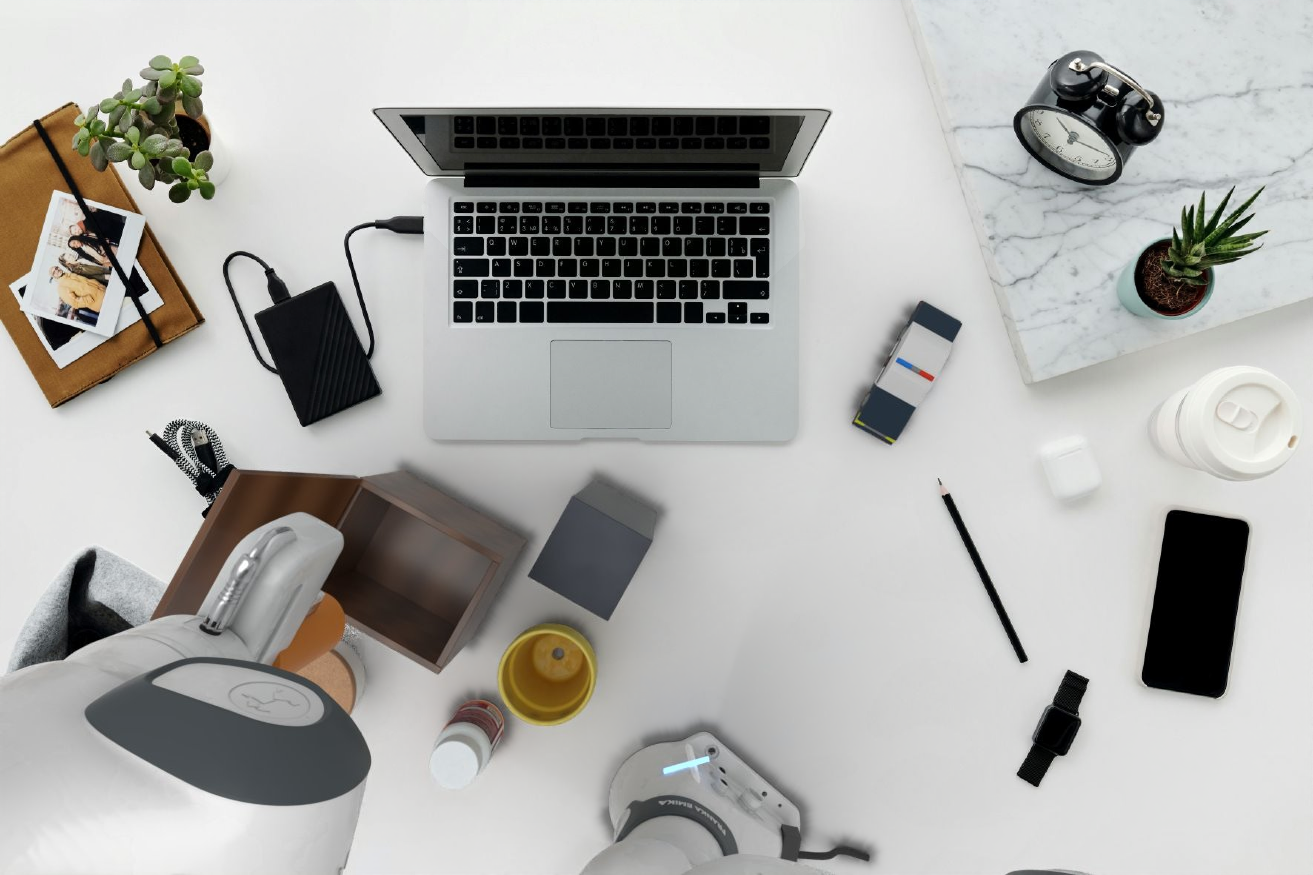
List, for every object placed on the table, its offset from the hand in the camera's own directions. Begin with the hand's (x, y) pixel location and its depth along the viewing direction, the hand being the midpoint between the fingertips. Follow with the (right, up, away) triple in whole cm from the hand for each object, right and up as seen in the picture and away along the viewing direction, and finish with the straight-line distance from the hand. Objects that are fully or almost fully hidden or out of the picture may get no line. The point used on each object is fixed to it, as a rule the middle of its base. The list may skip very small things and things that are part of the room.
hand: (290, 635), depth 56 cm
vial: (0, 0, +4) cm, 4 cm away
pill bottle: (+5, -20, +36) cm, 41 cm away
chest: (0, 0, +36) cm, 36 cm away
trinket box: (-12, -13, +36) cm, 41 cm away
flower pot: (+15, -11, +36) cm, 40 cm away
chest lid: (-8, +5, +13) cm, 16 cm away
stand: (+21, +4, +36) cm, 41 cm away
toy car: (+55, +22, +35) cm, 69 cm away
